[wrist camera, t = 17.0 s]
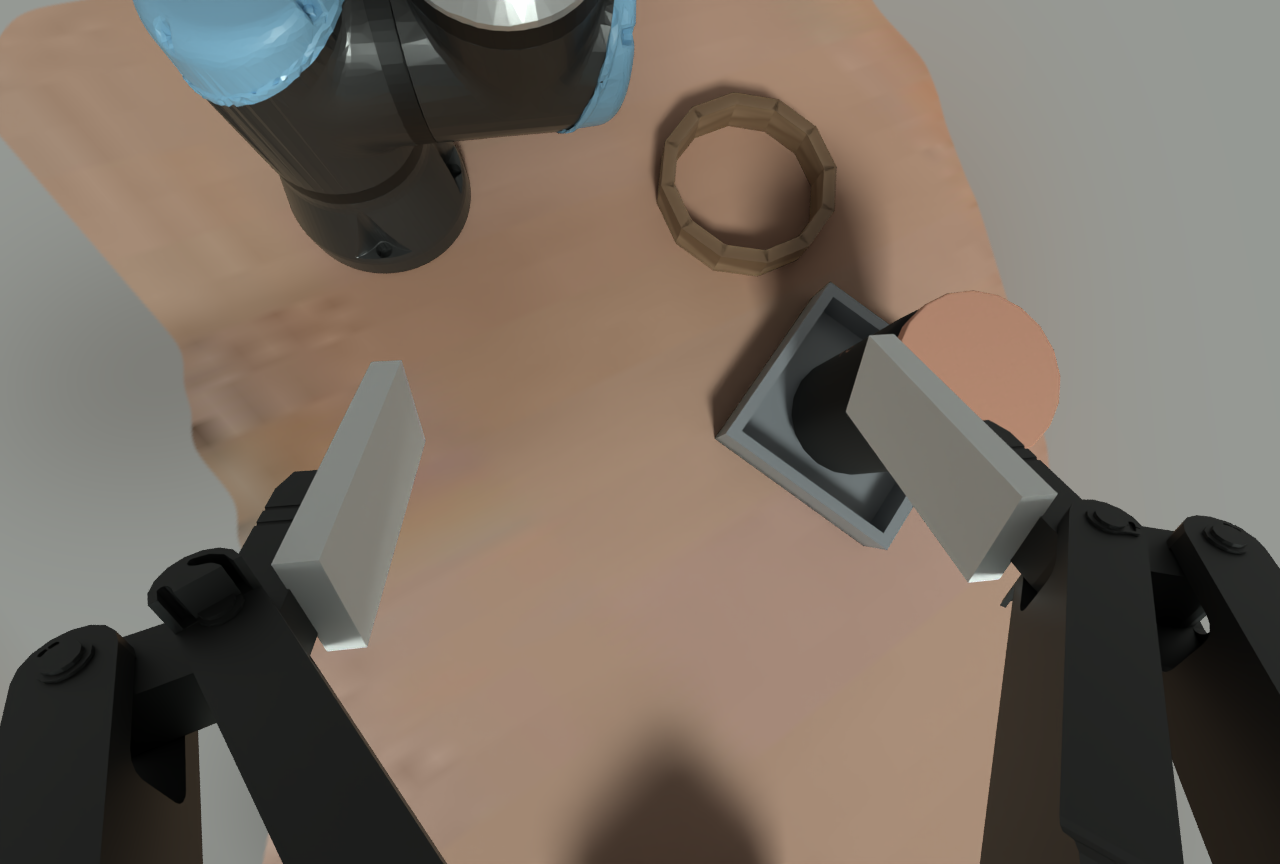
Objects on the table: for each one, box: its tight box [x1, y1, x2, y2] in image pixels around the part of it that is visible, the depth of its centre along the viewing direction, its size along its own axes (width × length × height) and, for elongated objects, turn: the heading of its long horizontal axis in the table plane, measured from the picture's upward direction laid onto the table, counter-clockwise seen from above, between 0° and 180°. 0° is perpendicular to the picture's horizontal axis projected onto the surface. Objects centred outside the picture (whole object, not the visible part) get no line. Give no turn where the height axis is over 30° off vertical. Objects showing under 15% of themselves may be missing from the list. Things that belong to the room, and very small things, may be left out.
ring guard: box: [657, 92, 837, 276], centre depth 52 cm, size 16×16×3 cm
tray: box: [715, 282, 913, 550], centre depth 50 cm, size 17×17×4 cm
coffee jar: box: [791, 290, 1060, 475], centre depth 42 cm, size 11×11×18 cm
